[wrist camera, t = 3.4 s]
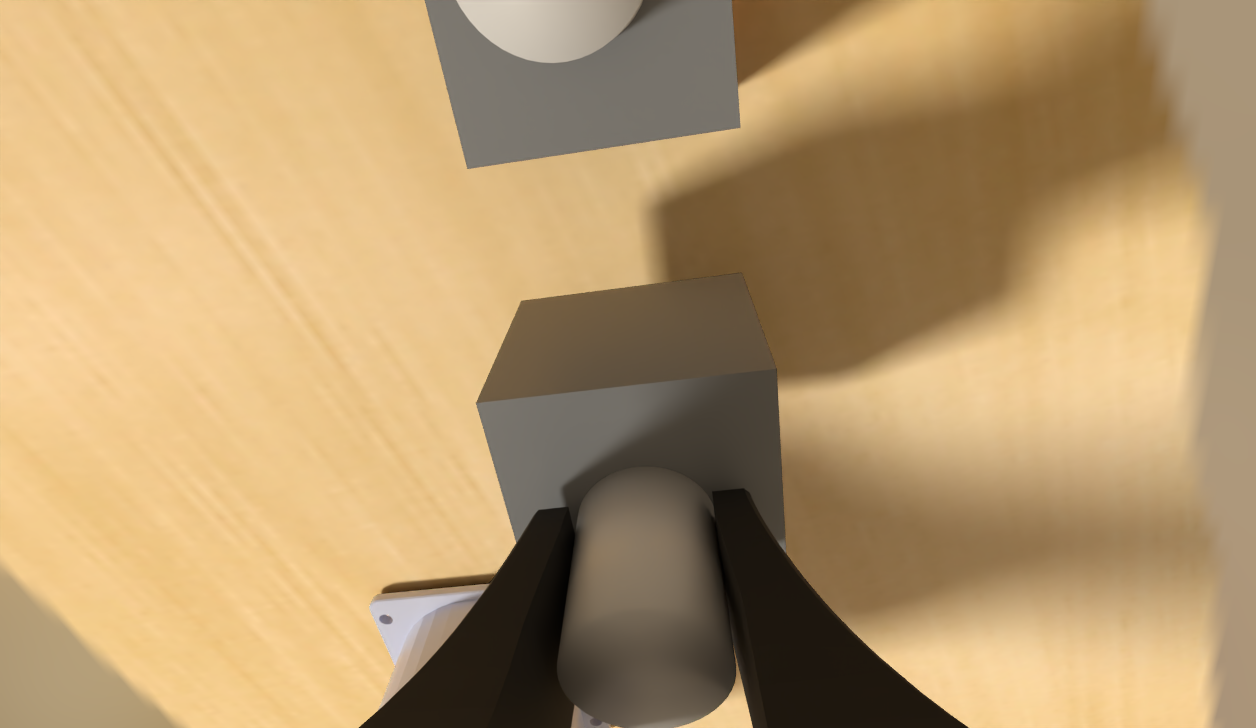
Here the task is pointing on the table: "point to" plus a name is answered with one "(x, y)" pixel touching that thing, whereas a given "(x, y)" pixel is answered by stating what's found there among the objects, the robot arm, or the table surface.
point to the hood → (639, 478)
